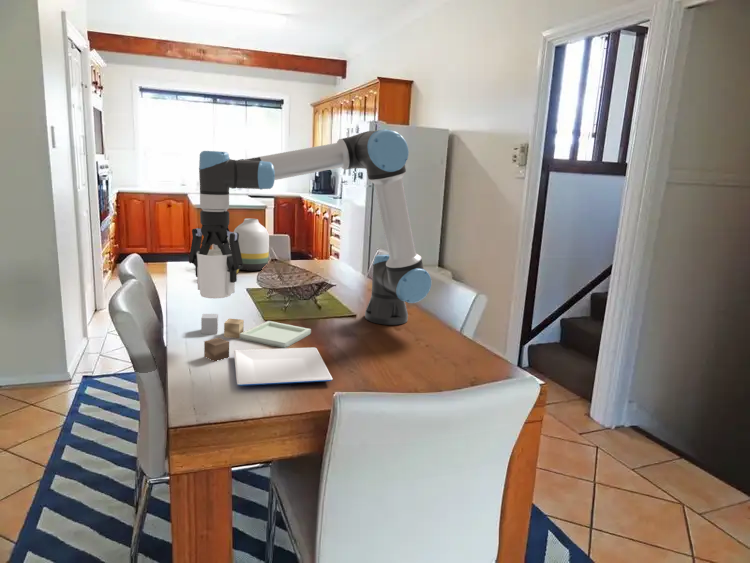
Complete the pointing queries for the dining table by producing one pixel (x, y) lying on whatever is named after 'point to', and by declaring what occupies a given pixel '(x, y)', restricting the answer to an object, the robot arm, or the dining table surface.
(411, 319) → the dining table surface
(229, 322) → the oak block
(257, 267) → the vase
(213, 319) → the grey block
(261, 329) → the tray
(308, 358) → the plate
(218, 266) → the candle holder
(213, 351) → the walnut block
